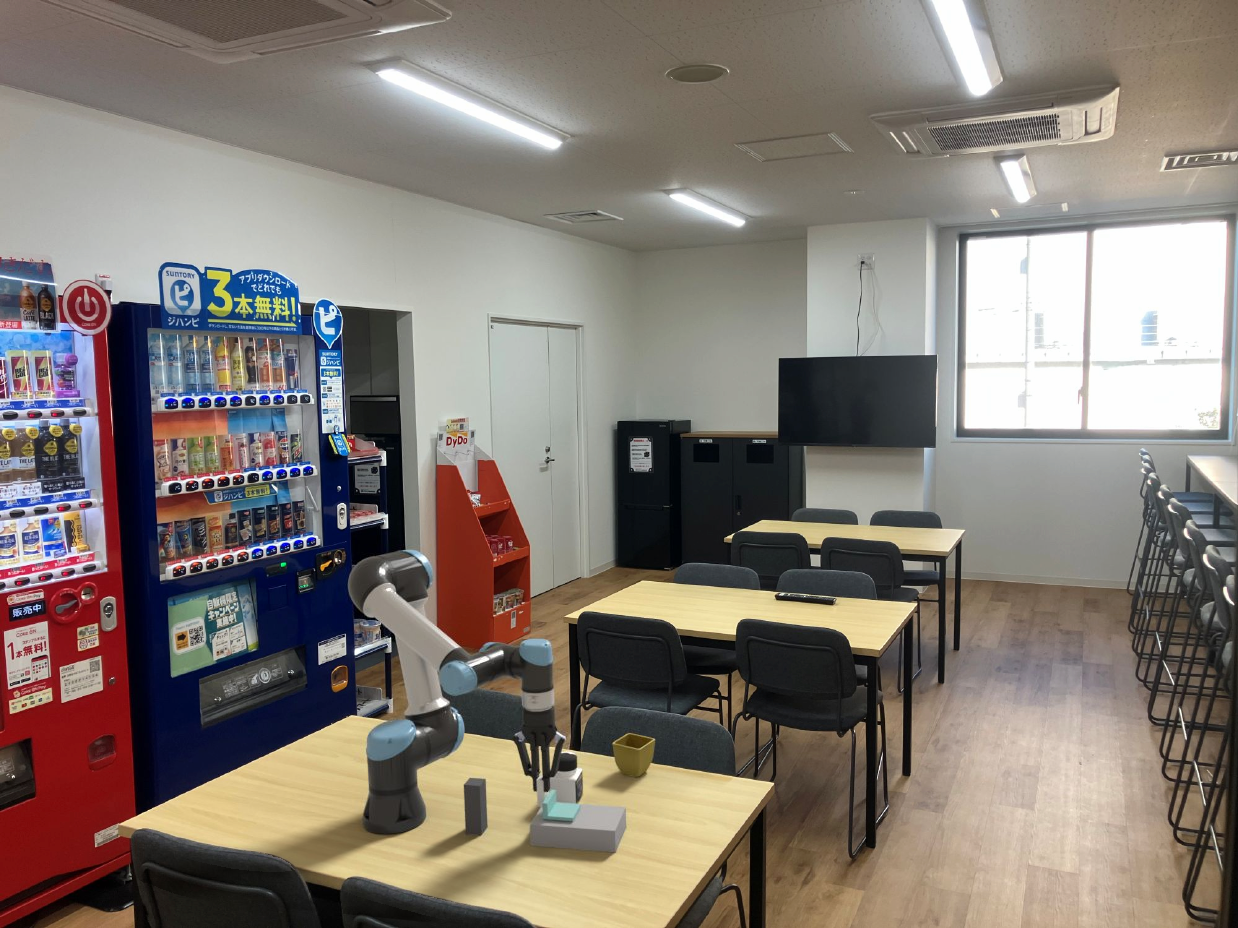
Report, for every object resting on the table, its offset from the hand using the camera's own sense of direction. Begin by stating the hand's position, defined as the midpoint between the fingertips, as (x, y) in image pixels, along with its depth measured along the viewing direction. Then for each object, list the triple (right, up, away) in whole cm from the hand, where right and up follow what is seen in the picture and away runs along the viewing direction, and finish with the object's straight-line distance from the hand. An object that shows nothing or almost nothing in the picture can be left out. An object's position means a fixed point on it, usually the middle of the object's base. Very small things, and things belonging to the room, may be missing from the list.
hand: (542, 804), depth 216 cm
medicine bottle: (+5, -6, +18) cm, 20 cm away
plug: (-16, -7, +3) cm, 18 cm away
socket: (+9, -7, -1) cm, 11 cm away
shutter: (+5, -2, -1) cm, 5 cm away
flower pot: (+22, -4, +34) cm, 41 cm away
